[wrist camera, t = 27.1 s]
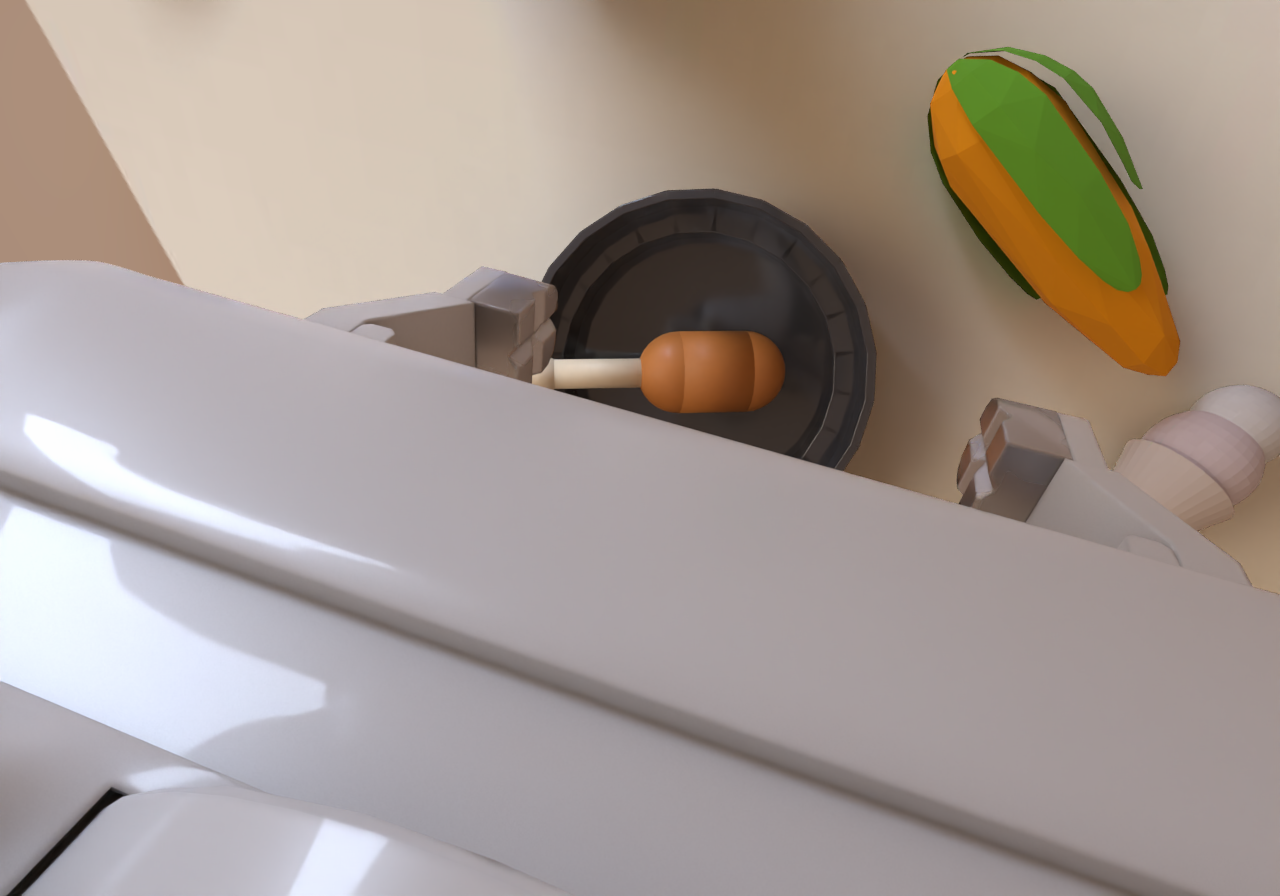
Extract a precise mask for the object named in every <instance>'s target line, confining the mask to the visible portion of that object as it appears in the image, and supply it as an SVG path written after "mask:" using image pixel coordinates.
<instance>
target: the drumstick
mask: <svg viewBox="0 0 1280 896" xmlns="http://www.w3.org/2000/svg"><path fill="white" fill-rule="evenodd" d="M784 378H785V363H784V359H783V357H782V354H781V352H780V350H779V349H778V347H777V346H776V345H775V344H774V343H773V342H772V341H771V340H770V339H769V338H767V337H765V336H764V335H762V334H759V333H756V332H752V331H676V332H669V333H666V334H663V335H661V336H659V337H657V338H655V339H654V340H653V341H652V342H651V343H649V344H648V346H647V347H646V348H645V349H644V351H643V353H642V355H641V357H640V358H636V359H553V358H551V359H550V361H549V364H548V366H547V367H546V368H545V369H544V370H543V372H542V373H539V374H536V375H532V384H534V385H538V386H542V387H545V388H549V389H552V390H554V389H580V388H641V390H642V392H643V394H644V396H645V397H646V398H647V399H648V400H649V402H651V403H652V404H653V405H654V406H655V407H657V408H659V409H661V410H664V411H667V412H672V413H714V412H748V411H754V410H757V409H760V408H762V407H764V406H765V405H767V404H769V403H770V402H771V401H772V400H773V399H774V398H775V397H776V396H777V394H778V393H779V391H780V390H781V387H782V385H783V382H784Z"/></svg>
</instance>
